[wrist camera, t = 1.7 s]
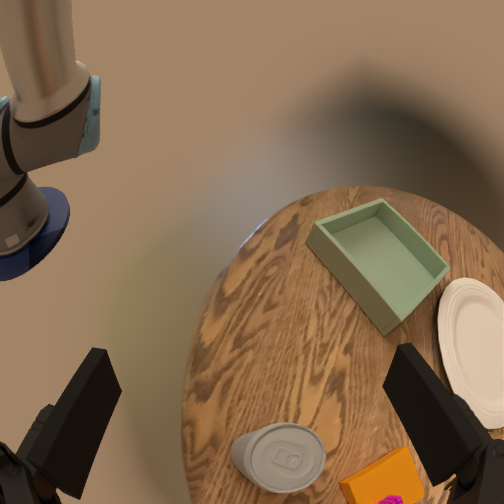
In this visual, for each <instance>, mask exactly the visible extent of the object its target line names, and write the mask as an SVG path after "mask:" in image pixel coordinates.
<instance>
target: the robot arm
mask: <svg viewBox="0 0 504 504" xmlns="http://www.w3.org/2000/svg"><path fill="white" fill-rule="evenodd" d="M0 47H1V51H2V54H3V58H4V61H5V65H6V67H7V71H8V74H9V77H10V80H11V83H12V85H13V88H14V91H15V93H14V95H13V97H12V99H11V102H10V99H9V98H8V96H3V97H2V98H0V258H2V259H3V258H9V257H12V256H15V255H17V254H19V253H20V252H22V251H23V250H25V249H26V248H28V247H29V246H30V245H31V244H32V243H33V242H34V241H35V240H36V239H37V238H38V237H39V236H40V235H41V233H42V232H43V230H44V229H45V227H46V225H47V223H48V221H49V218H50V207H49V204H48V202H47V199H46V198H45V196H44V195H43V193H42V192H41V191H40V190H39V189H38V188H37V186H36V185H35V184H34V183H33V182H32V181H31V179H30V178H29V177H28V174H27V172H29V171H32V170H35V169H38V168H41V167H44V166H47V165H51V164H54V163H57V162H61V161H64V160H68V159H71V158H77V157H78V156H79V155H82V154H85V153H88V152H91V151H93V150H95V149H96V148H97V146H98V144H99V140H100V91H101V88H100V87H101V79H100V77H99V76H93V75H92V76H89V71H88V68H87V67H86V66H85V65H84V64H83V63H81V62H79V61H76V59H75V49H74V39H73V26H72V1H71V0H0ZM9 102H10V103H9ZM382 387H383V388H384V390H385V392H386V394H387V396H388V398H389V400H390V401H391V403H392V405H393V407H394V409H395V411H396V413H397V415H398V416H399V418H400V420H401V422H402V424H403V426H404V428H405V430H406V432H407V434H408V436H409V438H410V440H411V442H412V444H413V446H414V448H415V450H416V452H417V454H418V456H419V458H420V460H421V462H422V464H423V466H424V468H425V471H426V473H427V475H428V477H429V479H430V481H431V484H432V486H433V487H434V486H436V485H438V484H440V483H442V482H444V481H446V480H448V479H449V478H450V477H451V476H452V475H453V474H454V473H455V474H456V477H455V478H454V479H453V480H452V481H451V482H449V483H448V484H447V485H446V487H445V489H444V490H447V489H448V488H449V487H450V486H452V487H451V488H450V489H449V491H450V495H449V498H448V501H447V504H504V440H501V439H495V440H493V439H492V438H491V436H490V435H489V434H488V432H487V431H486V429H485V428H484V426H483V425H482V423H481V422H480V420H479V419H478V418H477V416H475V413H474V412H473V411H472V409H470V406H469V405H468V404H467V402H466V401H465V400H464V399H463V398H461V397H460V396H459V395H457V394H455V395H451V394H450V393H449V391H448V390H447V389H446V387H445V386H444V385H443V383H442V382H441V381H440V379H439V378H438V377H437V375H436V374H435V373H434V371H433V370H432V369H431V367H430V366H429V365H428V364H427V362H426V361H425V360H424V358H423V357H422V356H421V355H420V353H419V352H418V351H417V350H416V348H415V347H414V346H413V345H412V343H406V344H400V345H398V346H397V349H396V352H395V355H394V358H393V360H392V363H391V366H390V369H389V371H388V374H387V376H386V379H385V381H384V384H383V386H382ZM121 392H122V390H121V388H120V386H119V383H118V380H117V378H116V375H115V373H114V370H113V367H112V365H111V362H110V359H109V356H108V353H107V350H106V349H99V348H92V349H91V350H90V352H89V353H88V355H87V356H86V358H85V359H84V361H83V362H82V364H81V365H80V367H79V368H78V370H77V371H76V373H75V374H74V376H73V377H72V379H71V380H70V382H69V384H68V385H67V387H66V389H65V390H64V392H63V393H62V395H61V396H60V398H59V400H58V401H57V403H56V405H55V406H53V405H51V404H48V405H47V406H46V407H44V408H43V409H42V410H41V411H40V412H39V414H38V416H37V417H36V419H35V420H36V421H34V422H33V424H32V426H31V428H30V429H29V431H28V433H27V434H26V436H25V438H24V440H23V442H22V443H21V445H20V447H19V449H18V451H17V452H16V454H14V453H13V452H12V451H11V450H10V449H9V448H8V447H7V446H6V444H4V443H2V442H0V504H62V503H61V501H60V498H59V496H58V495H57V493H56V488H58V489H60V490H61V491H62V492H63V493H65V494H67V495H69V496H72V497H74V498H76V499H79V500H80V498H81V496H82V493H83V489H84V487H85V484H86V481H87V478H88V475H89V472H90V470H91V467H92V464H93V461H94V459H95V456H96V453H97V451H98V448H99V445H100V443H101V440H102V438H103V435H104V433H105V430H106V428H107V425H108V423H109V421H110V418H111V416H112V413H113V411H114V409H115V406H116V404H117V402H118V399H119V397H120V395H121Z"/></svg>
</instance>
